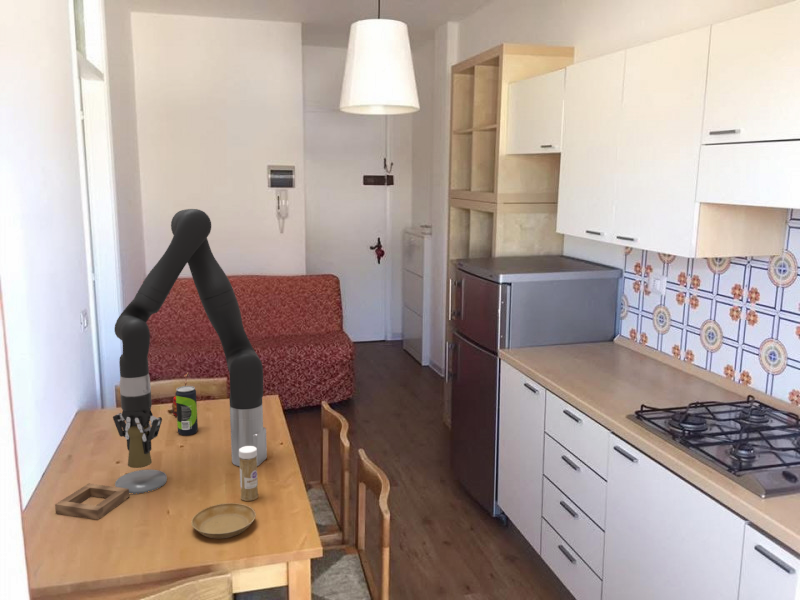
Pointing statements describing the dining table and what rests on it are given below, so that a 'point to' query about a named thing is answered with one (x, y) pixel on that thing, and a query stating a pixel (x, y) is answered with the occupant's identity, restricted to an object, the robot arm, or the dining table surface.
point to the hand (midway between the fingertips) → (139, 452)
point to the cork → (137, 449)
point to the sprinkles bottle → (248, 473)
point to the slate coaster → (142, 481)
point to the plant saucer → (223, 520)
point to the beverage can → (186, 410)
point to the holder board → (75, 508)
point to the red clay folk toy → (175, 400)
